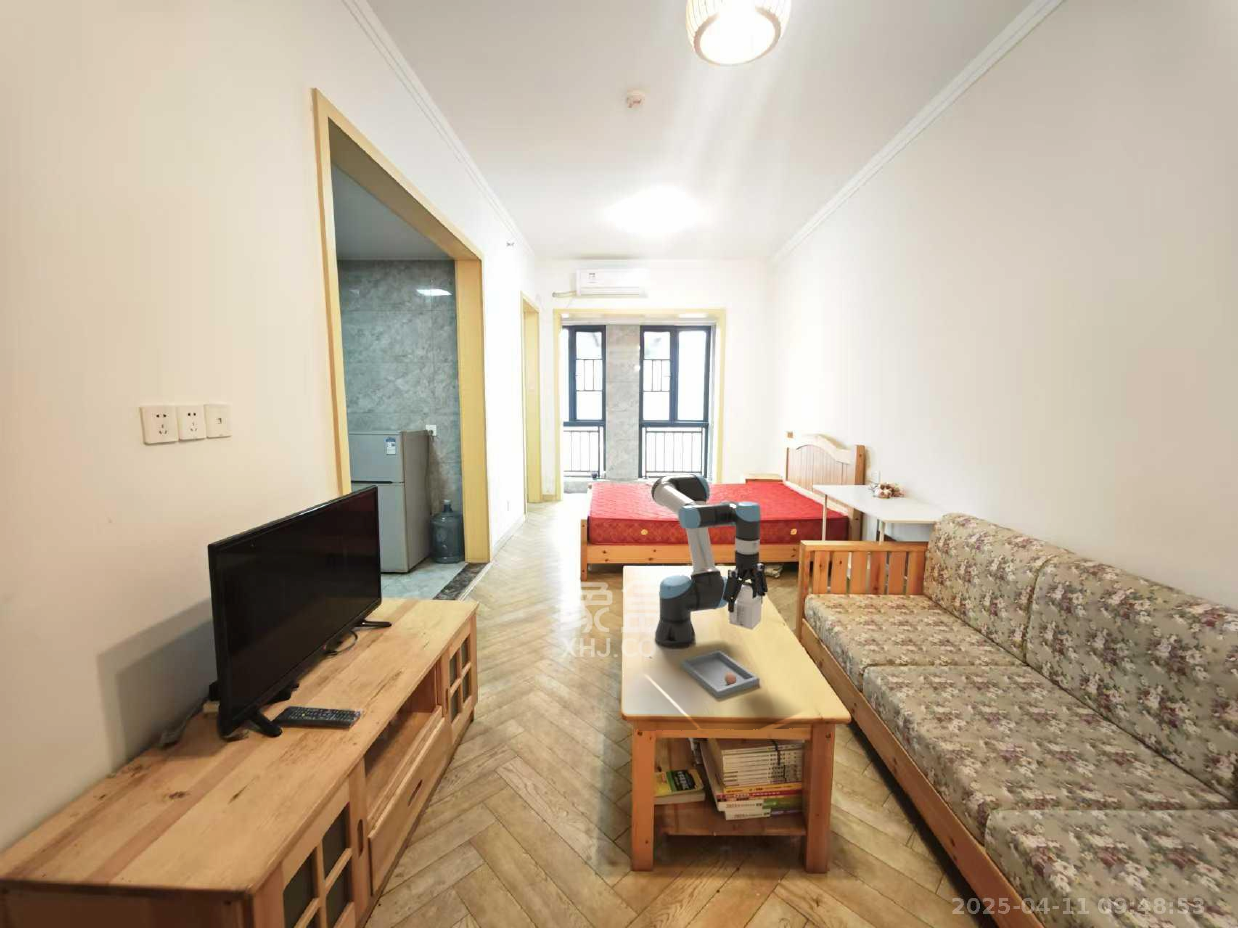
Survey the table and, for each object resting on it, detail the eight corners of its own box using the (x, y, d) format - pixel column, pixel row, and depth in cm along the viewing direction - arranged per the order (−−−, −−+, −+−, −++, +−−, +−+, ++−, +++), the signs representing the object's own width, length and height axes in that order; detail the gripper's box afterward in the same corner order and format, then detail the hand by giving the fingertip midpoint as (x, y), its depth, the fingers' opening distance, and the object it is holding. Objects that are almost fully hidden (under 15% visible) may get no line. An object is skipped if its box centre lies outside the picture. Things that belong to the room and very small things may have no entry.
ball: (722, 682, 149) (722, 672, 148) (731, 680, 150) (731, 669, 150) (729, 688, 145) (729, 677, 145) (738, 685, 147) (738, 674, 147)
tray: (680, 669, 159) (680, 660, 158) (719, 657, 166) (719, 649, 165) (717, 701, 141) (717, 691, 141) (759, 687, 148) (759, 677, 147)
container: (738, 615, 159) (739, 577, 158) (761, 621, 155) (762, 583, 153) (729, 623, 153) (730, 585, 152) (752, 630, 149) (753, 590, 147)
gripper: (728, 560, 142) (726, 630, 145) (781, 548, 153) (778, 614, 156) (711, 553, 149) (710, 620, 152) (763, 542, 160) (761, 605, 163)
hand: (745, 617), depth 154 cm, fingers closed on container, 10 cm apart
